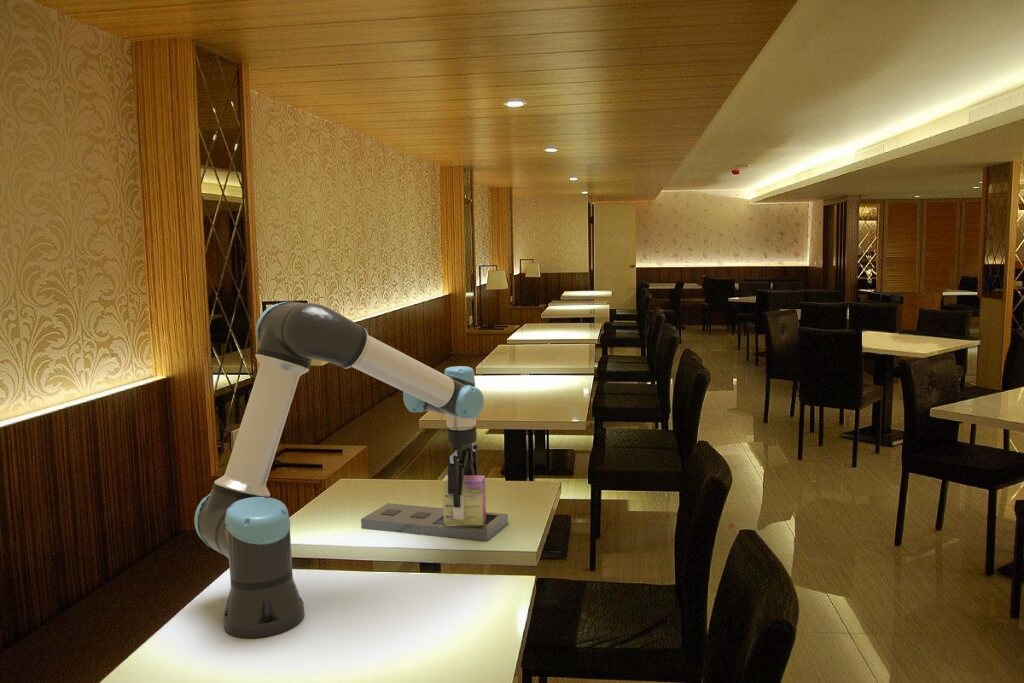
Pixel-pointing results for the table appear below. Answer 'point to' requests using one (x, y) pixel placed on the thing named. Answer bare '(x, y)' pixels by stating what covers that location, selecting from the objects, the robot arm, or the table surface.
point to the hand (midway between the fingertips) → (465, 514)
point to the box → (466, 501)
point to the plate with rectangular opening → (429, 522)
